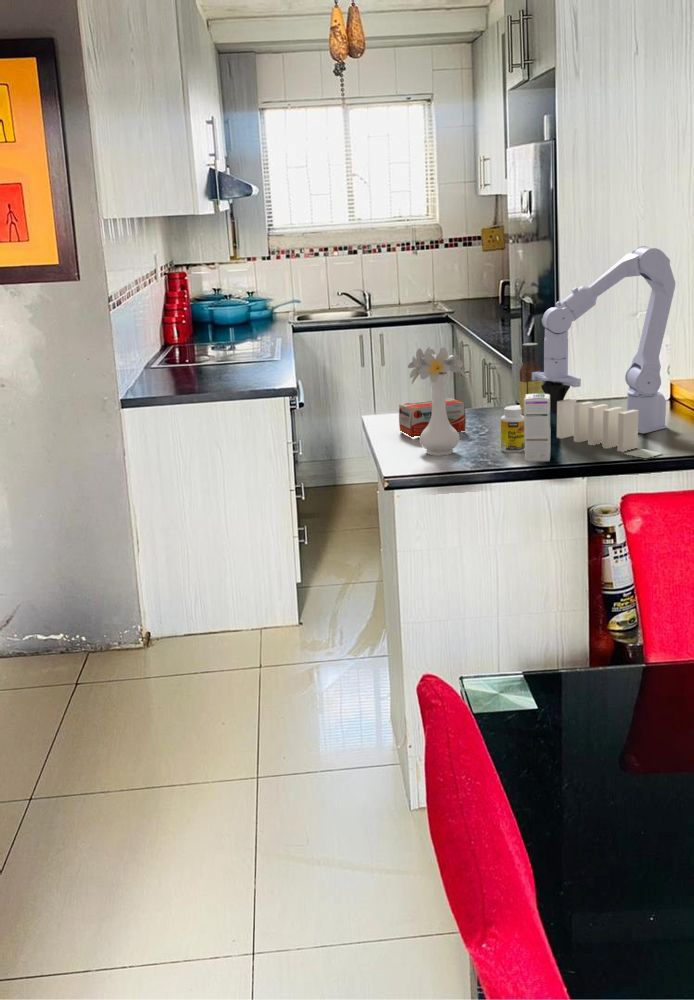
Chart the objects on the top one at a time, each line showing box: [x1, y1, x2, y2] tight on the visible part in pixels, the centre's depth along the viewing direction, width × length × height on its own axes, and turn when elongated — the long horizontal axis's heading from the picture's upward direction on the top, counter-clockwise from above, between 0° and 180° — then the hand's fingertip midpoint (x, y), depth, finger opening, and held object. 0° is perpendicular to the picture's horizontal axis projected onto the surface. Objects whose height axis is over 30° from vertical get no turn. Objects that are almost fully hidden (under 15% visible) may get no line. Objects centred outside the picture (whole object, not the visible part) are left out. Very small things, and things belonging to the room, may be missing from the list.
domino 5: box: [616, 410, 639, 453], centre depth 243 cm, size 2×5×9 cm, turn 125°
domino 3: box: [587, 403, 609, 446], centre depth 250 cm, size 2×5×9 cm, turn 125°
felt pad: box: [623, 448, 664, 458], centre depth 239 cm, size 6×6×1 cm
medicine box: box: [398, 397, 467, 437], centre depth 268 cm, size 15×8×8 cm, turn 110°
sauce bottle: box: [518, 342, 545, 416], centre depth 276 cm, size 6×6×20 cm
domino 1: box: [556, 397, 577, 440], centre depth 258 cm, size 2×5×9 cm, turn 125°
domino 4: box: [601, 406, 624, 449], centre depth 246 cm, size 2×5×9 cm, turn 125°
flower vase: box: [407, 346, 468, 457], centre depth 246 cm, size 13×18×25 cm
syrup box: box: [524, 393, 552, 462], centre depth 238 cm, size 6×6×14 cm
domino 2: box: [573, 401, 595, 443], centre depth 254 cm, size 2×5×9 cm, turn 125°
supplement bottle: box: [500, 405, 525, 454], centre depth 247 cm, size 6×6×10 cm
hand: (555, 412), depth 261 cm, fingers closed
